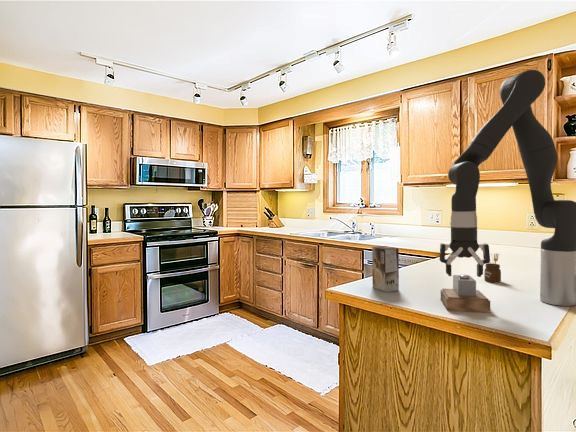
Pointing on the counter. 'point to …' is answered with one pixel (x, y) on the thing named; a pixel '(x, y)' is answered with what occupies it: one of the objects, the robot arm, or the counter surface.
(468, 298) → the walnut stand
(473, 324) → the counter surface
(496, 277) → the utensil holder
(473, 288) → the block
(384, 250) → the coffee box
